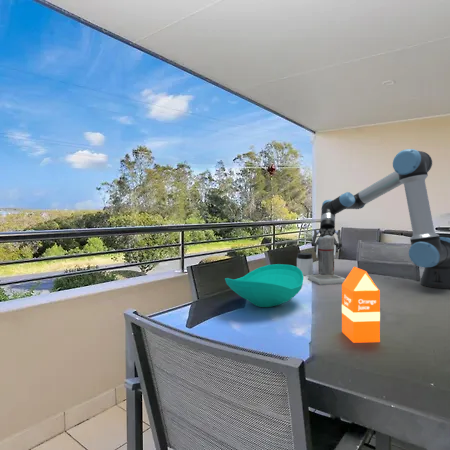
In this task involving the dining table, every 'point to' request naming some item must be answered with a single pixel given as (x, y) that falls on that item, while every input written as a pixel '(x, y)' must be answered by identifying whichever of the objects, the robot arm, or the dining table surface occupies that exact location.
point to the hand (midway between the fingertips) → (325, 256)
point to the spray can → (326, 255)
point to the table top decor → (268, 284)
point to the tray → (326, 279)
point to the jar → (305, 263)
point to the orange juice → (360, 307)
